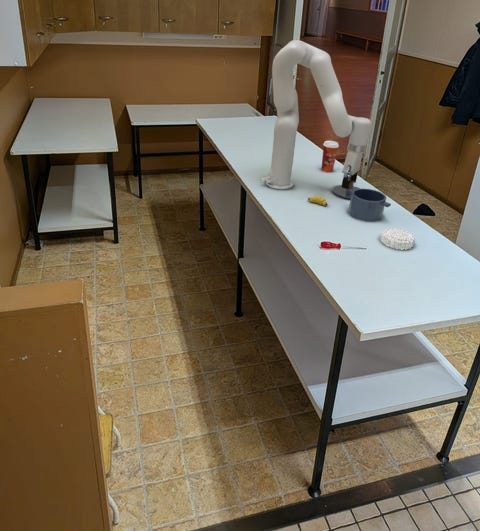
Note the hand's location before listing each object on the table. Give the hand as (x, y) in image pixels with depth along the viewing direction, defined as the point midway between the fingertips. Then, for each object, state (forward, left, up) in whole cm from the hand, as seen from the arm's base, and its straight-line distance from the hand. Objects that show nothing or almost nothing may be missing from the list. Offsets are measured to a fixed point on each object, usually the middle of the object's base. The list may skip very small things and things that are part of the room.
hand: (348, 185), depth 221 cm
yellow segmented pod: (-19, -4, -4) cm, 20 cm away
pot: (-7, -20, -4) cm, 22 cm away
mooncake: (-13, -44, -4) cm, 47 cm away
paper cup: (+11, +28, -4) cm, 30 cm away
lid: (+1, -1, -3) cm, 4 cm away
